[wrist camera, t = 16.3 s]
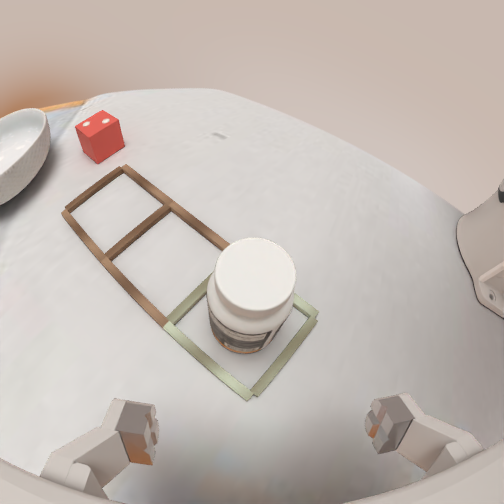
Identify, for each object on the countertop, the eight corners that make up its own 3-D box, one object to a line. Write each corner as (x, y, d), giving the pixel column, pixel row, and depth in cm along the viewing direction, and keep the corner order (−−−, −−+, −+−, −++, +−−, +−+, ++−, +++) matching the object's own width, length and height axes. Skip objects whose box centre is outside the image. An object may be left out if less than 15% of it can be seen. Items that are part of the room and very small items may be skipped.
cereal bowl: (-29, 248, 25) (-57, 216, 19) (-25, 176, 31) (-42, 147, 25) (69, 185, 31) (50, 143, 25) (54, 128, 38) (42, 94, 32)
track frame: (320, 316, 26) (322, 314, 26) (250, 404, 22) (251, 404, 21) (125, 166, 34) (124, 162, 33) (61, 214, 29) (59, 211, 29)
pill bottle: (244, 281, 27) (256, 213, 19) (289, 325, 26) (325, 273, 17) (196, 320, 25) (184, 266, 16) (242, 369, 23) (256, 340, 15)
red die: (124, 146, 36) (118, 119, 32) (97, 164, 34) (88, 137, 30) (108, 135, 37) (102, 109, 33) (83, 151, 35) (74, 125, 31)
